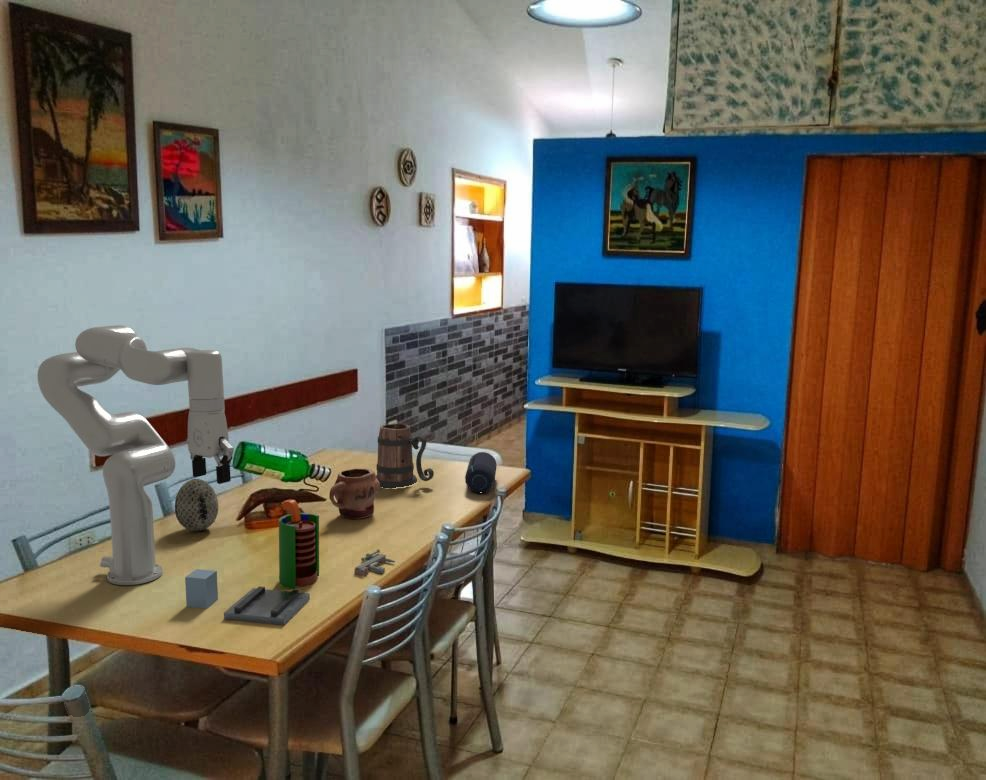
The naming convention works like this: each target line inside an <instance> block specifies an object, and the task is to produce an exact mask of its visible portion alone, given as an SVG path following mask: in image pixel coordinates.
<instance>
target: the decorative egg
mask: <svg viewBox="0 0 986 780" xmlns="http://www.w3.org/2000/svg"><path fill="white" fill-rule="evenodd" d="M174 502H175V503H174V512H175V513H174V514H175V517H176V519H177V521H178V523H179V524H180V525H181V526H182V527H183V528H185V529H186V530H189V531H192V532H201V531H204V530H206V529H208V528H209V527H211V526H212V525H213V524H214V522H215V521H216V519H217V516H218V513H219V500H218V496H217V493H216V491H215V490H214V488H213V487H212V485H210V484H209V483H208V482H207V481H205V480H203V479H200V478H192V479H190V480H188V481H186V482H185V483H184V484H182V485H181V487H180V488H179V490H178V491H177V494H176V497H175V500H174Z"/></svg>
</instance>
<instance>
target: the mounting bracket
mask: <svg viewBox="0 0 986 780" xmlns="http://www.w3.org/2000/svg"><path fill="white" fill-rule="evenodd" d="M310 599H311V597H310V593H309V592H301V591H300V589H291V591H288V590H278V589H266V587H265V586H258V587H257V588H255V587H253V588H251V589H250V590H249V591H248V592H246V594H244V595H243V596H242V597H240V598H239V599H238V600H236V602H235V603H234V604H232V605H231V606H230V607H228V609H227V610H225V611H224V612H223V619H224V620H228V621H229V620H230V621H239V622H240V621H241V622H248V623H256V624H257V623H261V624H268V625H269V624H270V625H280V626H285V625H286V624H287V623H288V622H289V621H290V620H291V619H292V618H293V617H294V616H295V615H296V614H297V613H298V612H299V611H300V610H301V609H302V608H303V607H304V606H305V605H306V604H307V603H308V602H309V601H310Z"/></svg>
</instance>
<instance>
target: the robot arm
mask: <svg viewBox="0 0 986 780" xmlns="http://www.w3.org/2000/svg"><path fill="white" fill-rule="evenodd" d="M74 344H75V346H74V347H75V350H76V352H74V351H73V352H68V353H66V352H65V353H61V354H56V355H52V356H50V357H48V358H46V359H44V360H43V361H42V362H41V363H40V365H39V366H38V369H37V383H38V386H39V390H40V393H41V394H42V396H43V398H44V400H46V401H47V403H48V405H49V406H50V407H52V408H53V409H54V411H56V412H57V413H58V414H59V415H60V416H61V417H62V418H63V419H64V420H65V421H66V423H68V425H69V426H70V428H71V429H72V431H73V432H74V433H75V434H76V435H77V437H78V438H79V440H81V442H82V443H83V444H84V446H85V447H86V448H87V449H88V450H89V451H90V452H91V454H93V455H95V456H97V457H107V456H109V457H108V458H107V459H106V460H105V462H104V464H103V467H102V477H103V480H104V484H105V488H106V492H107V496H108V506H109V519H110V533H111V549H112V551H111V552H112V556H108V555H107V556H105V555H104V556H103V557H101V561H100V564H99V566H100V568H108V569H109V571H108V572H107V575H106V580H107V581H108V583H110V584H112V585H118V586H135V585H140V584H146V583H149V582H152V581H155V580H157V579H158V578H160V577H161V576H162V574H163V573H164V572H163V566H162V565H159V564H158V563H156V551H155V550H156V549H155V531H154V529H155V527H154V512H153V503H152V500H151V498H150V497H149V495H148V494H147V493H146V491H145V488H144V487H146V486H149V485H151V484H155V483H158V482H161V481H163V480H166V479H168V478H170V477H171V476H172V475H173V474H174V473H175V469H176V459H175V458H176V457H175V455H174V453H173V451H172V450H171V448H170V447H169V445H168V444H167V443H166V442H165V440H164V439H163V438H162V437H161V435H159V433H158V431H157V430H156V429H155V428H154V426H153V425H152V424H151V423H150V422H149V420H147V419H146V418H145V417H144V416H142V415H141V414H139V413H136V412H132V411H126V412H120V413H116V414H113V413H109V412H108V411H107V410H106V409H105V408H104V407H103V406H102V404H101V403H100V401H98V400H97V398H95V397H94V396H92V395H91V394H89V393H87V392H85V391H83V390H81V389H79V388H78V387H84V386H85V387H86V386H91V385H96V384H102V383H105V382H107V381H109V380H110V379H111V378H113V377H114V376H115V375H116V374H117V373H118V372H119V371H122V373H123V374H124V375H125V377H127V378H128V379H130V380H132V381H136V382H138V383H139V382H140V383H143V384H148V385H153V386H161V385H169V384H173V383H180V382H187V386H188V387H187V389H188V403H189V404H188V405H189V412H188V417H187V438H186V444H187V448H188V452H189V454H190V456H189V457H190V460H191V467H192V477H194V478H198V477H202V476H203V477H204V476H206V475H207V462H206V460H207V459H206V458H210V459H211V458H214V460H215V462H216V465H217V466H215V472H216V473H215V474H216V484H218V485H220V484H226V483H229V482H231V481H232V480H231V479H232V478H231V464H232V460H233V455H234V451H235V448H234V447H233V445H232V444H231V443H230V440H229V438H230V437H229V430H228V423H227V417H226V414H225V412H226V411H225V410H226V409H225V408H226V407H225V406H226V405H225V391H224V374H223V359H222V358H223V357H222V354H221V353H220V352H219V351H218V350H214V349H201V350H200V349H196V348H193V347H181V348H179V347H177V348H171V349H164V350H157V351H156V350H155V351H154V350H148V348H147V345H146V342H145V341H144V339H142V338H141V337H139V336H137V333H136V332H135V331H134V330H133V329H132V328H130V327H128V326H125V325H121V324H117V325H107V326H97V327H95V326H94V327H90V328H89V327H88V328H86V329H85V330H83V331H82V332H80V333H79V334H78V336H77V337H76V340H75V343H74Z"/></svg>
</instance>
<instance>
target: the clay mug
mask: <svg viewBox="0 0 986 780" xmlns="http://www.w3.org/2000/svg"><path fill="white" fill-rule="evenodd" d="M376 475H377V473H376V472H375V470H373V469H370V468H351V469H346V470H343V471H340V472H339V473H338V474H337V478H336V480H335V482H334V484H333V485H332V486H331V488H330V490H329V498H328V499H329V500H330V501H331V503H332V505H333V506H334V507H336V508H338V512H339V514H340V516H341V517H342V518H344V519H350V520H359V519H360V520H361V519H365V518H368V517H371V516H372V515H373V514H374V513H375V505H374V504H375V498H376V496H377V494H378V493H379V490H380V489H381V488H380V483H379V481H378V480H377V477H376Z"/></svg>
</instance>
